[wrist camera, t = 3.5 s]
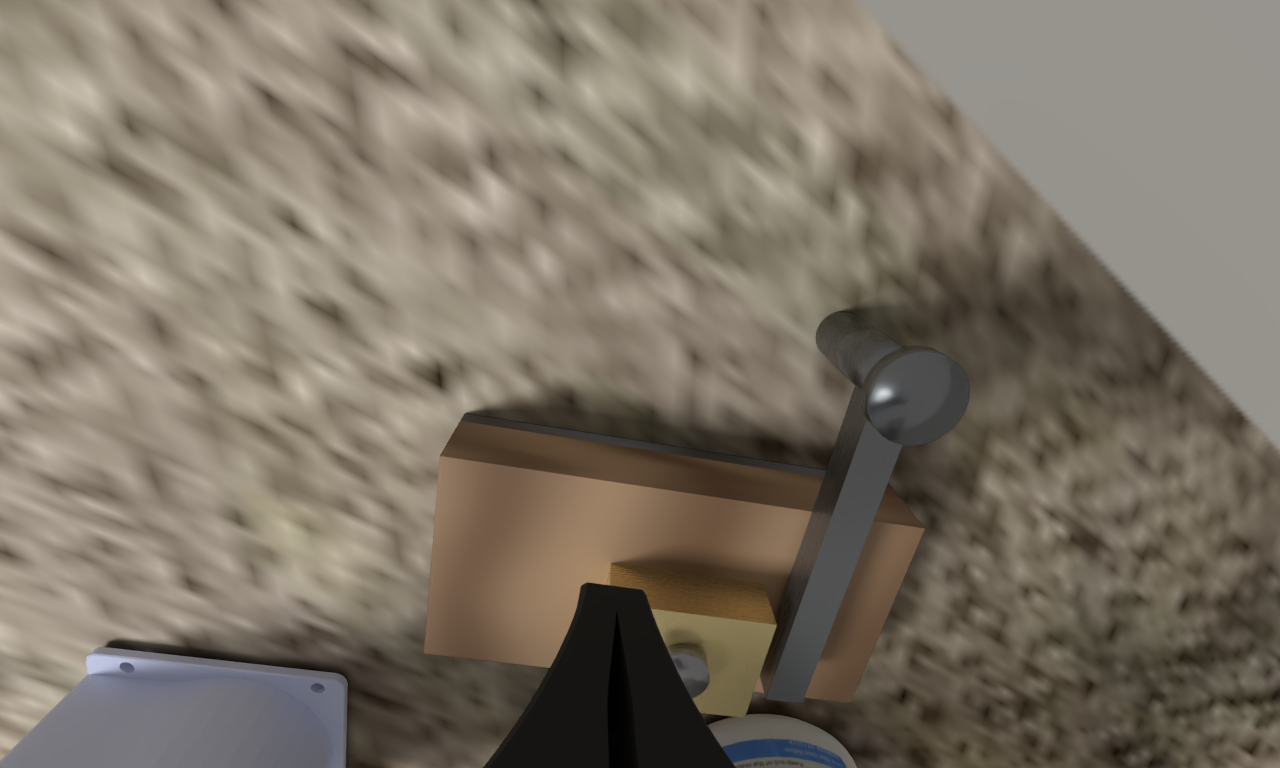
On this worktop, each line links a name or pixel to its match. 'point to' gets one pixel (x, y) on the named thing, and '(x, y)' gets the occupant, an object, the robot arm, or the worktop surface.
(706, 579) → the yellow rectangular block
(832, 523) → the lever
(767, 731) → the supplement tub
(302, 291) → the worktop surface
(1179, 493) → the worktop surface
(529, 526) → the body
